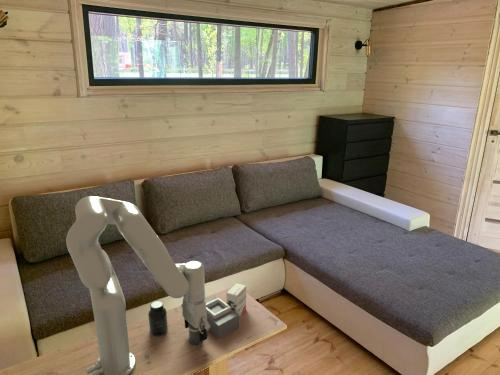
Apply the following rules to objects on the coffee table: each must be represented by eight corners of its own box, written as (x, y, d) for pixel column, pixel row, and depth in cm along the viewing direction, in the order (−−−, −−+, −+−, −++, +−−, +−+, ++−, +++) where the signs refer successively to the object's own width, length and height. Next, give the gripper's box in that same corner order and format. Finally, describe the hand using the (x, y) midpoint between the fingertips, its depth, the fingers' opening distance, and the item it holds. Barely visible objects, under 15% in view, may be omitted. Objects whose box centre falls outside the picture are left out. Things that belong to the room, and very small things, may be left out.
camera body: (238, 327, 148) (239, 310, 146) (218, 338, 142) (218, 321, 139) (214, 307, 159) (214, 292, 157) (195, 317, 153) (194, 301, 150)
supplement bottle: (170, 325, 148) (168, 299, 145) (164, 337, 142) (162, 310, 138) (153, 323, 149) (151, 298, 145) (147, 335, 143) (144, 309, 139)
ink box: (236, 305, 161) (236, 282, 157) (246, 309, 159) (246, 285, 155) (226, 316, 154) (226, 292, 150) (236, 320, 152) (236, 295, 148)
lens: (194, 347, 137) (193, 329, 135) (186, 339, 141) (185, 322, 138) (205, 340, 141) (205, 323, 138) (197, 333, 144) (197, 316, 142)
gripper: (172, 287, 138) (175, 325, 143) (199, 310, 126) (200, 350, 131) (190, 280, 143) (191, 317, 148) (217, 301, 131) (217, 341, 136)
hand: (195, 333), depth 140 cm, fingers open, 9 cm apart
